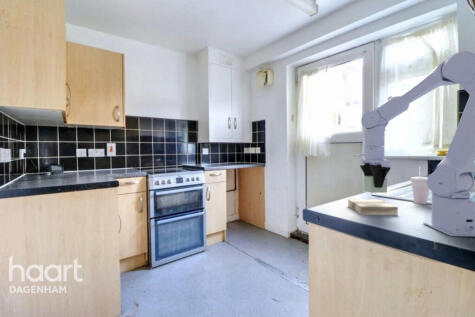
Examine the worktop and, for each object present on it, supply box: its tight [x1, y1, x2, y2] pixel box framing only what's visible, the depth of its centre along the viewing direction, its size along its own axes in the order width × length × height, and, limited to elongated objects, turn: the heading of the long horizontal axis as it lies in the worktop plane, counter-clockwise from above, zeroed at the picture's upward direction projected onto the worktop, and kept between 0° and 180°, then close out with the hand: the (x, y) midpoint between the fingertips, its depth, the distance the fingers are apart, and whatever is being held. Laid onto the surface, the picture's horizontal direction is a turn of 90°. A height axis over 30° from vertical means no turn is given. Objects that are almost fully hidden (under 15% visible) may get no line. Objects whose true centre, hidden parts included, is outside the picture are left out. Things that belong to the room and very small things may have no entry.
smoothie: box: [410, 166, 430, 205], centre depth 85 cm, size 6×6×14 cm
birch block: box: [347, 198, 399, 216], centre depth 78 cm, size 11×11×3 cm
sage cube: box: [363, 176, 388, 194], centre depth 77 cm, size 5×5×5 cm
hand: (374, 186), depth 77 cm, fingers closed on sage cube, 5 cm apart
